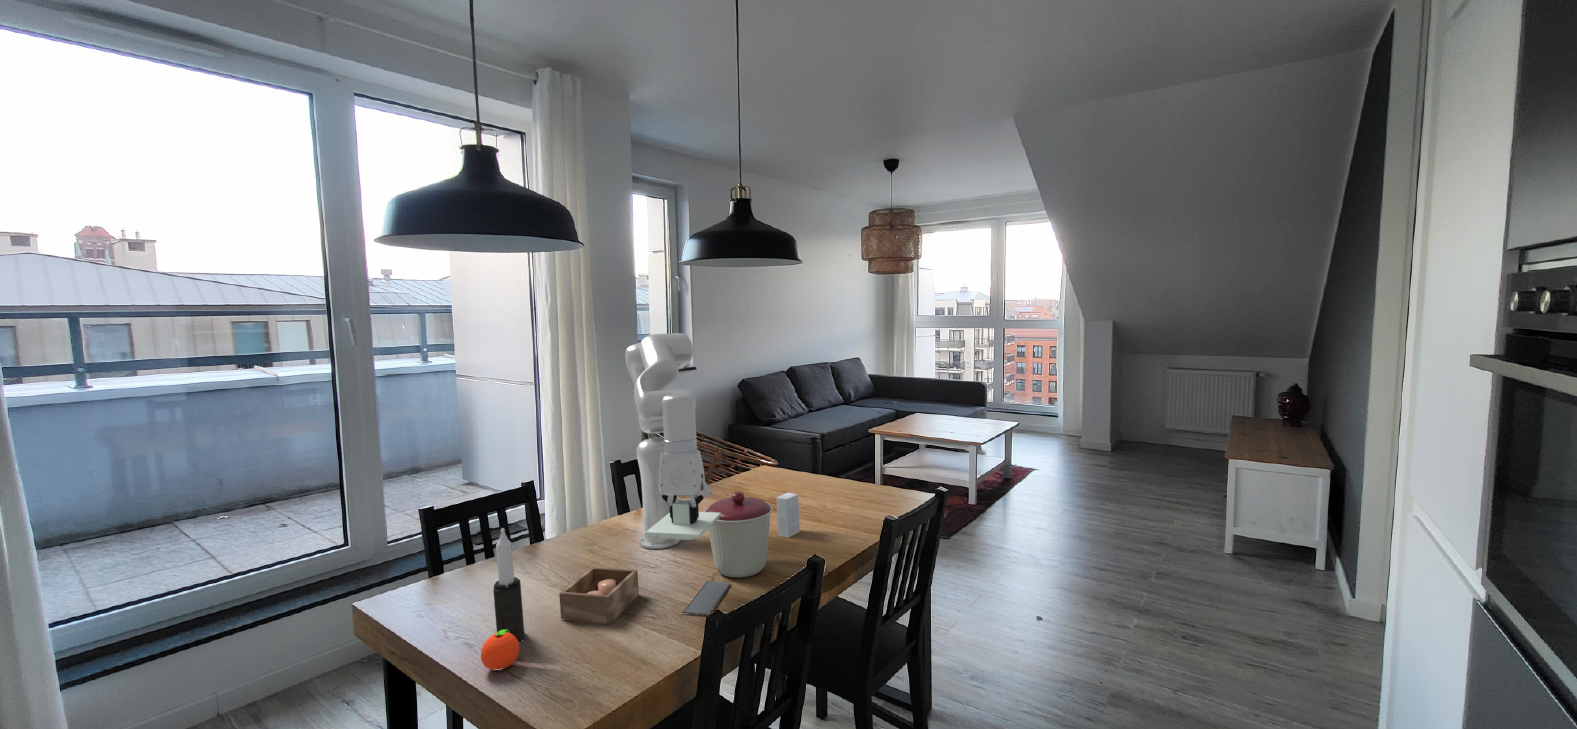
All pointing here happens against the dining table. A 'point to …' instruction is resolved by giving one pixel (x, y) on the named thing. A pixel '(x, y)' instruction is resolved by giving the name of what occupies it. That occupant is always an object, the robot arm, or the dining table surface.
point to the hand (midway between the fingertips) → (684, 520)
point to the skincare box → (788, 514)
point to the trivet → (707, 598)
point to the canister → (740, 535)
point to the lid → (683, 523)
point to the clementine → (500, 650)
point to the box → (598, 596)
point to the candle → (507, 592)
